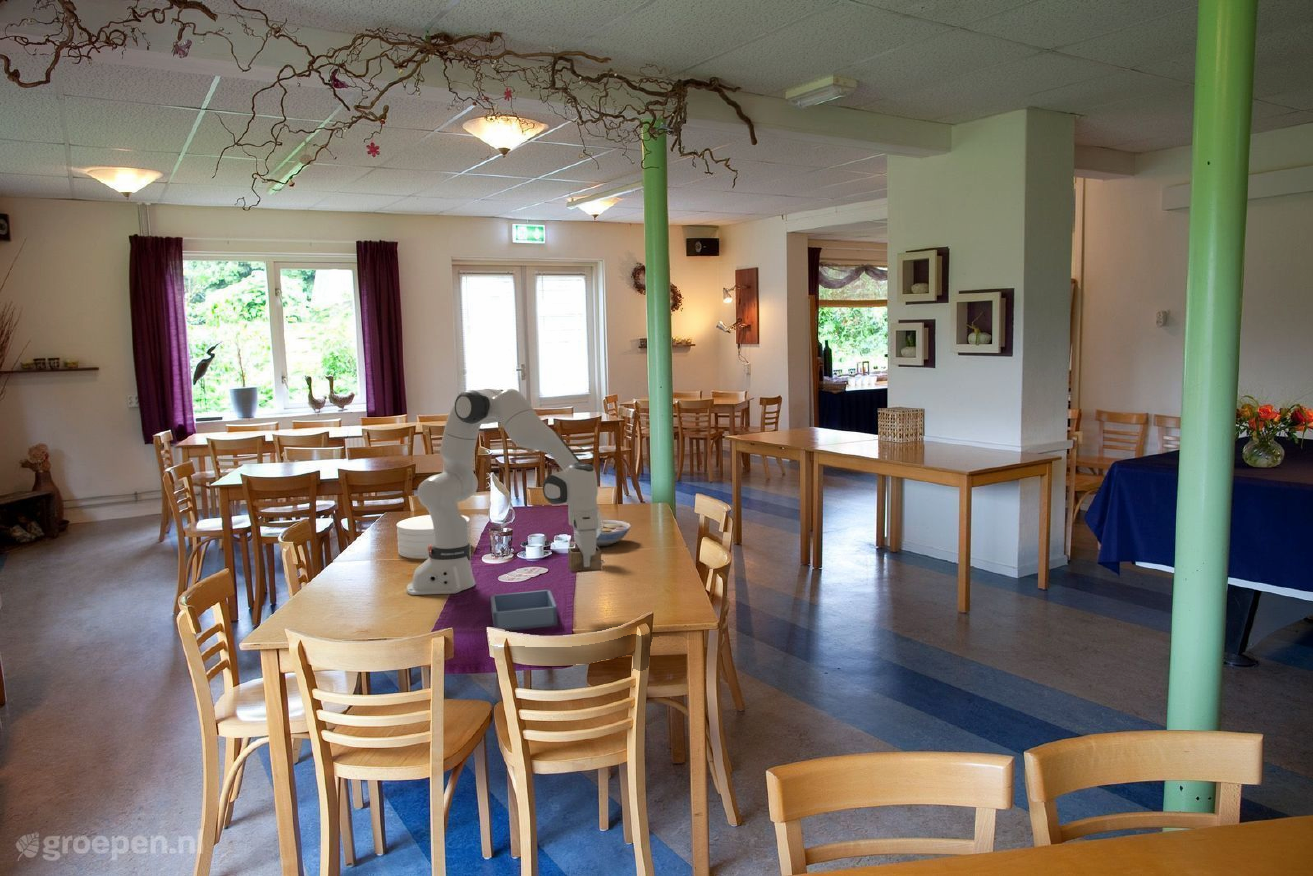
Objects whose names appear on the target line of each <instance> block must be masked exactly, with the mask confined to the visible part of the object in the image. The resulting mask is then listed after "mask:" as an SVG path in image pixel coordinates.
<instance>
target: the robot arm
mask: <svg viewBox="0 0 1313 876" xmlns="http://www.w3.org/2000/svg"><path fill="white" fill-rule="evenodd" d="M446 418H447V419H446V422H445V425H444V429H443V434H442V439H441V442H440V443H441V444H440V447H439V455H440V457H441V458H442V459H443V471H442V472H441V473H438V474H433V475H431V476H428V477H427V478H426V479H424V480H423V481H422V482H421V483H419V484H418V488H417V497H418V501H419V503H420V504H421V505H422V506H423V507H424V508H426V510H427V511H428V513H429V515H430V516H431V519H432V522H433V528H434V540H435V545H434V546H433V545H429V547H428V551H429V558H426V560H425V561H424V562H423V563H420V565H419V566H417V568H416V569H415V571H414V573H413V577H412V581H411V582H410V583H408V584H407V586H406V593H407V594H409V595H411V596H416V595H417V596H419V595H447V594H449V595H450V594H457V593H460V592H461V591H464V590H467V589H471V588H472V587H474V586H475V585H476V581H475V577H474V575H473V570H472V565H471V558H472V557H471V556H472V554H471V553H472V552H471V548H470V544H469V543H468V527H467V521H466V519H465V518H464V517H462V516H461V515H462V514H461V512H460V508H459V505H458V504H459V503H460V502H463V501H466V500H467V499H469V498H471V496H473V495H474V494H475V493H476V492H477V490H478V488H479V487H478V486H479V482H478V481H479V480H478V477H477V475H476V474H475V473H474V455H475V450H476V446H477V441H478V437H479V433H480V428H481V425H488V424H495V423H500V424H501V426H502V428H503V430H504V431H505V433H506V435H507V437H508V438H509V440H510V441H511V442H513V444H515V445H516V446H517V447H520V448H523V449H527V450H535V451H539V452H542V453H545V454H547V455H549V456H550V457H552V458H553V460H554V461H555V463H557V465H558V466H559V467H560V468H561V470H560V471H558V472H553V473H551V474H549V475H547V476H546V477H545V478H544V480H543V483H542V494H543V497H544V498H545V500H546V501H547V502H548V503H550V505H558V506H559V505H563V504H565V505H566V504H567V506H568V525H569V526H572V530H573V541H574V543H575V544H576V545H577V548H579V549H580V551H581V553H582V554H583V565H584V567H589V566H590V557H591V555H595V552H596V537H597V531H596V529H598V528H599V524H598V508H599V505H598V502H597V497H598V492H599V491H598V490H599V489H598V487H599V486H598V478H597V473H596V470H595V467H594V466H592V465H591V464H589V463H586V462H582V461H581V460H580V459H579V458H578V456H577V455H576V454H575V452H573V450H572V449H571V448H570V447H569V445H568V444H567V442H566V441H564V439H563V438H562V437H561V436H560V435H559V434H558V433H557V431H555V430H553V429H552V428H551V427H549V426H548V425H547V424H546V423H545V422H544V421H543V420H542V419H541V418H540V417H539V415H538V414H537V412H536V411H535V410H534V407H533V406H532V404H530V403H529V401H528V400H527V399H526V398H525V396H524V395H523V394H522V393H521V392H520V391H518V390H517V389H514V388H508V389H494V388H484V389H469V390H466V391H462V392H461V393H459V394H458V396H456V398H455V401H454V404H453V405H452V407H451V408H450V411H449V414H448V416H447V417H446Z"/></svg>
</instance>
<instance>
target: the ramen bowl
mask: <svg viewBox="0 0 1313 876" xmlns="http://www.w3.org/2000/svg"><path fill="white" fill-rule="evenodd" d="M602 525H603V530H602V533H601V535H600V536H599V537H598V538H596V546H598V547H609V546H611V545H613V544H615V543H618V542H619V541H621V540H622V539H623V538H625V536H626V535H627V534H628V532H629V530H630V529H631V527H632V526H631V524H630V523H629V522H626V521H621V520H615V519H614V520H613V519H611V520H610V519H609V520H608V519H603V520H602Z"/></svg>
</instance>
